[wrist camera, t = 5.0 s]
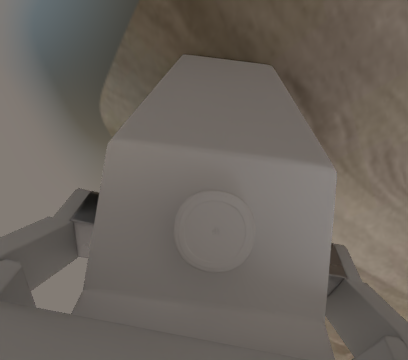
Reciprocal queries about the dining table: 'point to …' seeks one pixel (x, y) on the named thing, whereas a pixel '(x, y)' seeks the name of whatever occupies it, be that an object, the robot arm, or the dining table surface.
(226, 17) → the dining table surface
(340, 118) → the dining table surface
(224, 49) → the dining table surface
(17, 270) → the robot arm
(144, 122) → the milk carton
